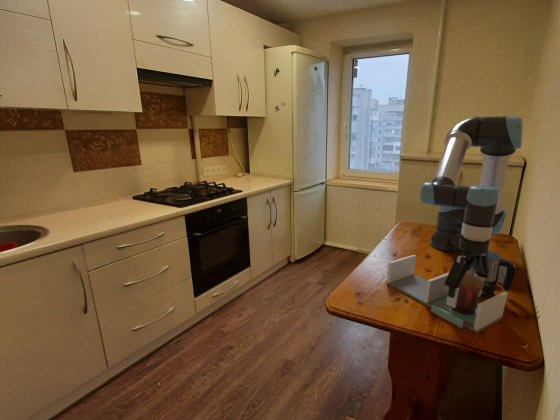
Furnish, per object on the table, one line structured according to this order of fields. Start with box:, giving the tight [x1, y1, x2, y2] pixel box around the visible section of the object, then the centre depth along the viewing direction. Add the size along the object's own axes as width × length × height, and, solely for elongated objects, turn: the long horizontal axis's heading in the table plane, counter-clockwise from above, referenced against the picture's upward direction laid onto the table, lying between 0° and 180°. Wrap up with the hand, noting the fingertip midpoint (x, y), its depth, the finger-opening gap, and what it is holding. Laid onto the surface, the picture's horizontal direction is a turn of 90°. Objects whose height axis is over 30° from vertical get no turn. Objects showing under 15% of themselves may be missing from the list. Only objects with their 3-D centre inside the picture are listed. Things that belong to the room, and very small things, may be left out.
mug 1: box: [452, 273, 484, 314], centre depth 95 cm, size 12×9×10 cm
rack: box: [386, 254, 508, 334], centre depth 104 cm, size 16×33×9 cm, turn 30°
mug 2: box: [497, 264, 517, 285], centre depth 120 cm, size 10×7×7 cm
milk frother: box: [467, 250, 516, 299], centre depth 112 cm, size 14×16×15 cm
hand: (463, 299), depth 98 cm, fingers open, 13 cm apart
